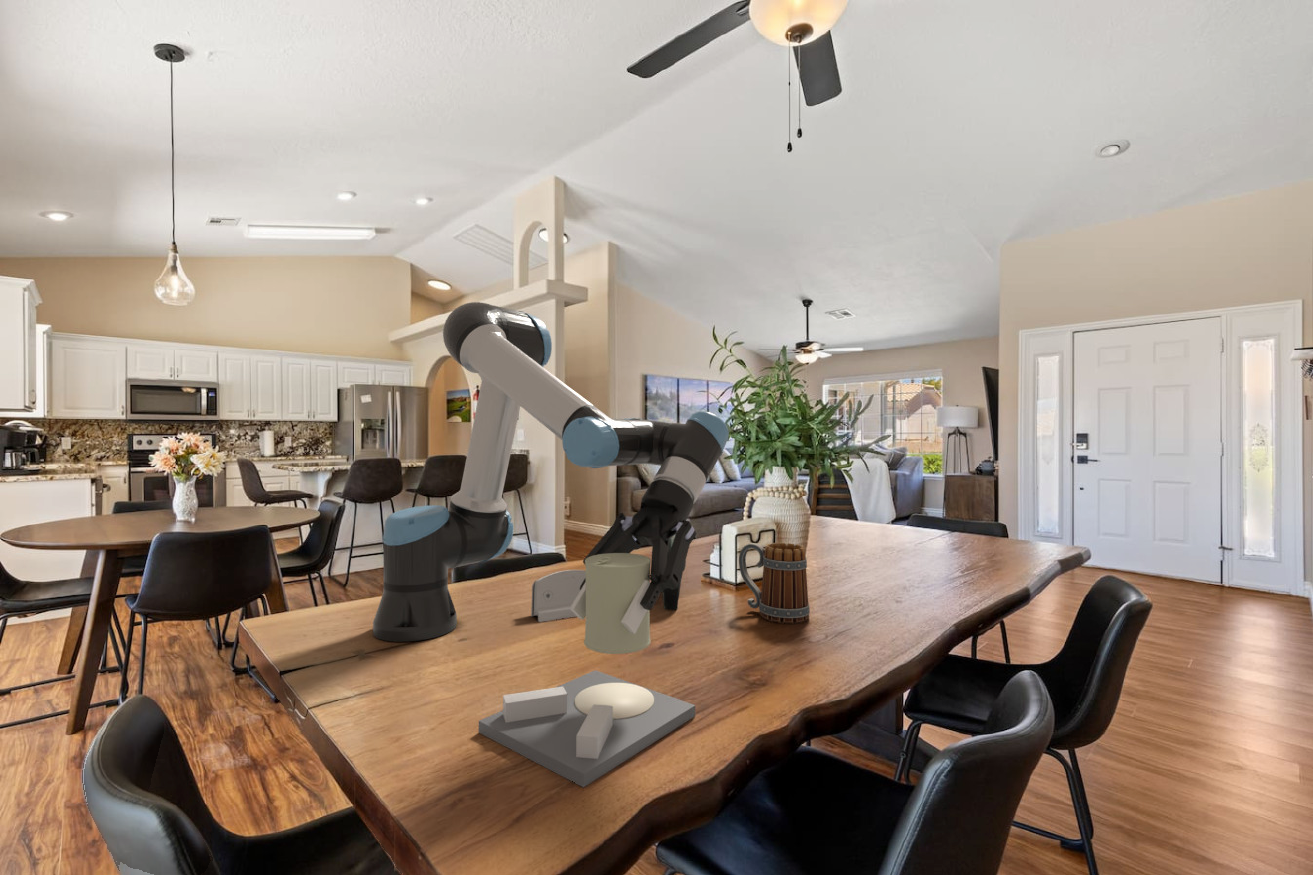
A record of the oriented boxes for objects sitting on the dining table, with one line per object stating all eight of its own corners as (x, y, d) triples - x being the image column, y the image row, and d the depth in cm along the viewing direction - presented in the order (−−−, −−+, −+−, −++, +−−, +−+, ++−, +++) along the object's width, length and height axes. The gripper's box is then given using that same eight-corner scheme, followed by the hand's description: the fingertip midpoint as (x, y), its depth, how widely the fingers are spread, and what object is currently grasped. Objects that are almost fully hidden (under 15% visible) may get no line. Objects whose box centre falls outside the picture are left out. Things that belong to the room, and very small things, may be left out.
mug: (816, 614, 130) (817, 545, 130) (799, 627, 121) (800, 553, 121) (749, 603, 138) (750, 537, 138) (729, 614, 129) (730, 544, 129)
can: (570, 642, 83) (570, 555, 83) (618, 627, 90) (619, 547, 90) (616, 659, 77) (616, 566, 77) (664, 641, 84) (664, 555, 84)
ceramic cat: (659, 587, 151) (660, 507, 151) (685, 588, 151) (686, 508, 151) (657, 610, 131) (658, 519, 131) (686, 611, 131) (687, 519, 131)
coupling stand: (478, 732, 78) (478, 701, 78) (595, 679, 94) (595, 654, 94) (583, 787, 66) (583, 750, 66) (695, 716, 83) (695, 686, 83)
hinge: (537, 622, 123) (532, 572, 125) (530, 624, 126) (526, 575, 129) (612, 611, 131) (606, 564, 134) (603, 613, 135) (597, 568, 138)
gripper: (742, 514, 89) (677, 653, 77) (631, 503, 102) (560, 620, 90) (723, 481, 85) (651, 621, 72) (610, 473, 98) (533, 591, 86)
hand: (601, 620), depth 81 cm, fingers closed on can, 9 cm apart
